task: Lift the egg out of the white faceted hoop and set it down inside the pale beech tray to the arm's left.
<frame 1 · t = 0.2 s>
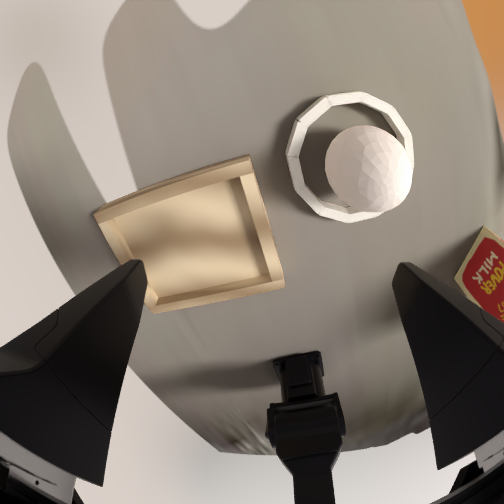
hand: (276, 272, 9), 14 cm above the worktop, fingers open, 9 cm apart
egg: (350, 155, 20), resting in white faceted hoop
white faceted hoop: (351, 156, 20), on the worktop
tray: (192, 239, 24), on the worktop
milk carton: (481, 262, 27), on the worktop
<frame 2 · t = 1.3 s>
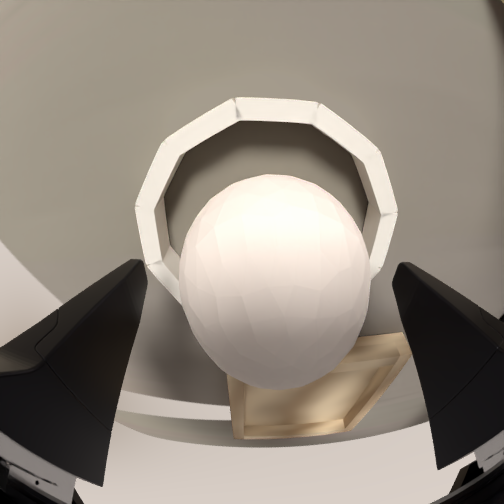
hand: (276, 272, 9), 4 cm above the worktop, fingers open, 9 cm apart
egg: (267, 220, 12), resting in white faceted hoop
white faceted hoop: (267, 222, 12), on the worktop
tray: (305, 391, 20), on the worktop
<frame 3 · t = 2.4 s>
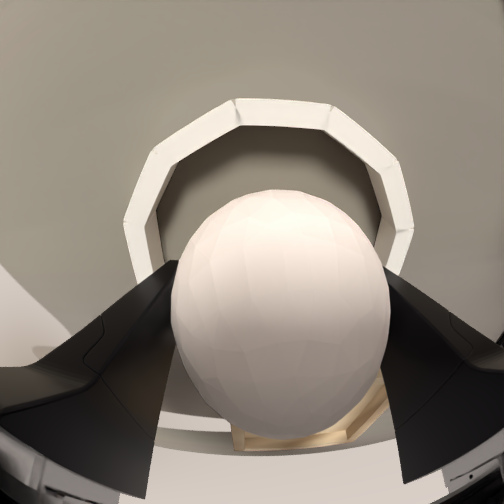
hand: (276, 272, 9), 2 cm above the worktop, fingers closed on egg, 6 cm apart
egg: (271, 235, 11), resting in white faceted hoop, touching gripper
white faceted hoop: (271, 238, 11), on the worktop
tray: (307, 404, 19), on the worktop
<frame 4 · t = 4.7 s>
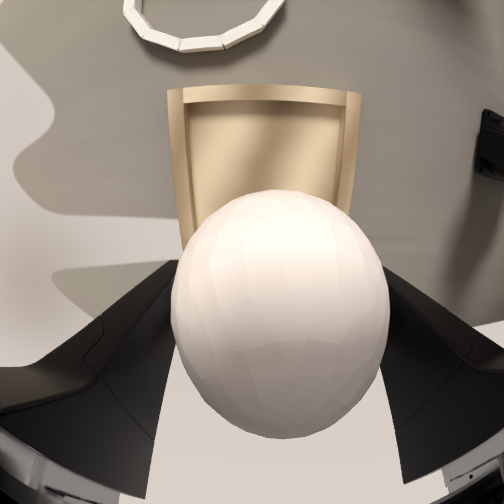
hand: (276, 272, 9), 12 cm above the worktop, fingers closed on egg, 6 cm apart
egg: (270, 235, 11), point 9 cm above the worktop, touching gripper
tray: (263, 181, 19), on the worktop
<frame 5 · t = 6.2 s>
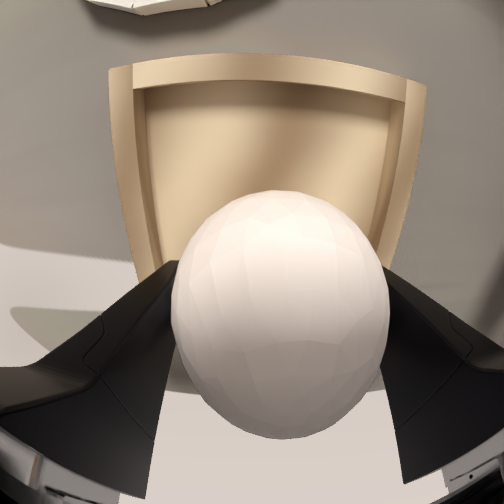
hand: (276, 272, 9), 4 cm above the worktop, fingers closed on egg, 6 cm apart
egg: (271, 236, 11), point 2 cm above the worktop, touching gripper
tray: (265, 214, 13), on the worktop
when the fingers open (4 cm above the worktop, at t = 7.0 s): egg drops 1 cm, resting on tray.
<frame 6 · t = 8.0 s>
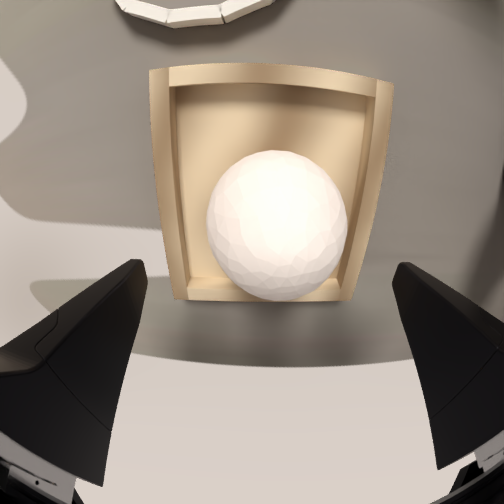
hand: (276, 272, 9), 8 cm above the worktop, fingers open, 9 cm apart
egg: (270, 190, 15), point 1 cm above the worktop, touching tray
tray: (268, 187, 16), on the worktop
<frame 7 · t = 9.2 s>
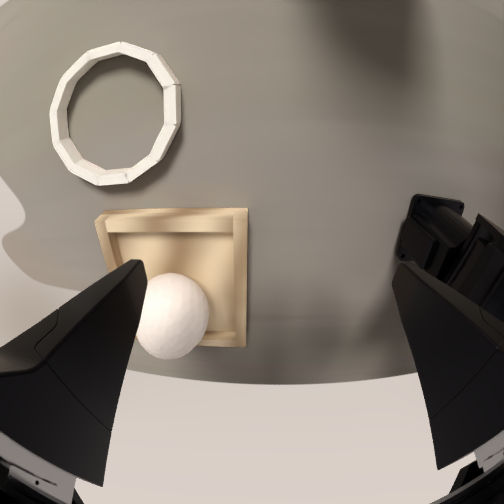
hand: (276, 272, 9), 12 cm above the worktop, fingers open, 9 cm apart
egg: (179, 283, 24), point 1 cm above the worktop, touching tray
white faceted hoop: (113, 112, 16), on the worktop
tray: (180, 279, 24), on the worktop
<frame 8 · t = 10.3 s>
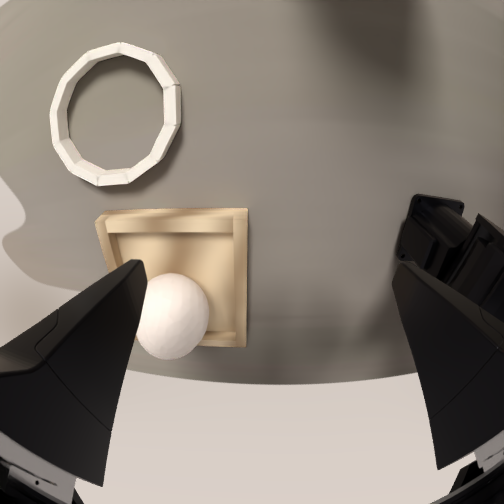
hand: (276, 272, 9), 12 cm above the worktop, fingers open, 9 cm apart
egg: (180, 283, 24), point 1 cm above the worktop, touching tray
white faceted hoop: (113, 113, 16), on the worktop
tray: (180, 279, 24), on the worktop
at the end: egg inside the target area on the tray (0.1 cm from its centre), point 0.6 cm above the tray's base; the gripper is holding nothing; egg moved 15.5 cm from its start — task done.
